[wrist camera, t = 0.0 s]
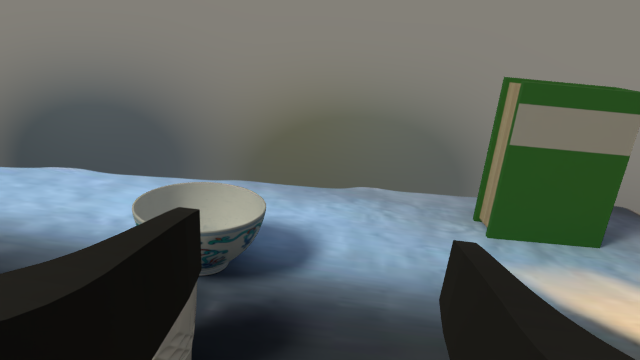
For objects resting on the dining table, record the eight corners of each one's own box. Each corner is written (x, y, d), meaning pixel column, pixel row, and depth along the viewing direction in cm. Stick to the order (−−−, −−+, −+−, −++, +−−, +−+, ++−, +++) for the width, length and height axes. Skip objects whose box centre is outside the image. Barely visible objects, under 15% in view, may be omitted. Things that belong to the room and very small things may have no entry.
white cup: (200, 398, 34) (200, 288, 31) (87, 417, 31) (75, 299, 28) (196, 333, 41) (196, 237, 38) (103, 344, 38) (95, 243, 35)
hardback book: (487, 237, 68) (524, 81, 60) (472, 218, 75) (504, 77, 67) (599, 248, 68) (650, 93, 60) (574, 228, 75) (617, 87, 67)
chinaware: (276, 244, 59) (279, 191, 57) (239, 307, 45) (241, 240, 43) (173, 227, 61) (172, 176, 59) (107, 283, 47) (102, 218, 45)
